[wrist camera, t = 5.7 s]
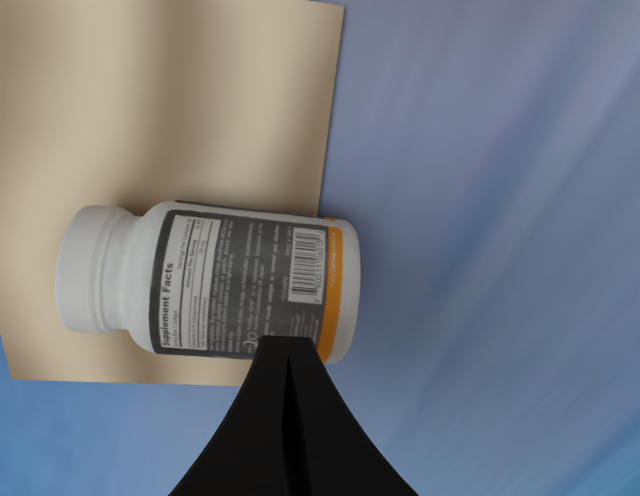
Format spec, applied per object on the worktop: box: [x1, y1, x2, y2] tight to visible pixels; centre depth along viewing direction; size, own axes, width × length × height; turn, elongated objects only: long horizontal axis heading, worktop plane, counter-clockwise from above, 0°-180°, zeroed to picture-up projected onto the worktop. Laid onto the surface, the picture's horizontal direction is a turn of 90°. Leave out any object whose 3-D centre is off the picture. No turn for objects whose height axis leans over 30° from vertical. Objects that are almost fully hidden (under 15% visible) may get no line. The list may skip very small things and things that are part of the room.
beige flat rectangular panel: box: [0, 0, 344, 386], centre depth 18 cm, size 14×18×1 cm
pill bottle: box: [54, 200, 361, 364], centre depth 17 cm, size 6×6×10 cm
